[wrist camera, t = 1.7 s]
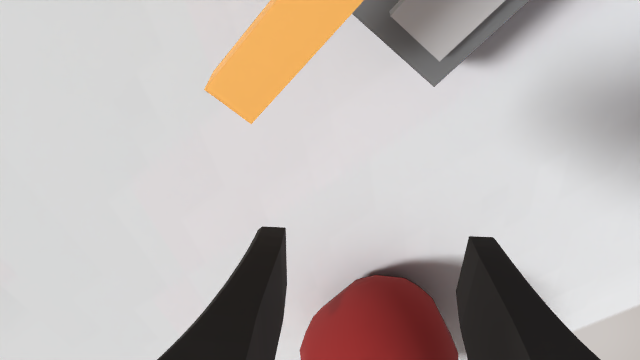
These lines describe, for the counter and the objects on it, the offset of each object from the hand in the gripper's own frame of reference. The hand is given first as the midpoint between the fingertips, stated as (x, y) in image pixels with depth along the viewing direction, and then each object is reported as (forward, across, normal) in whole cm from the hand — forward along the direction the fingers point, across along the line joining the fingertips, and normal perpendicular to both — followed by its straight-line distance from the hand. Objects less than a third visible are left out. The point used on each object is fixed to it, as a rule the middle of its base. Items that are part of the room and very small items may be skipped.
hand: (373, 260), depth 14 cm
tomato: (+11, -2, +14) cm, 17 cm away
